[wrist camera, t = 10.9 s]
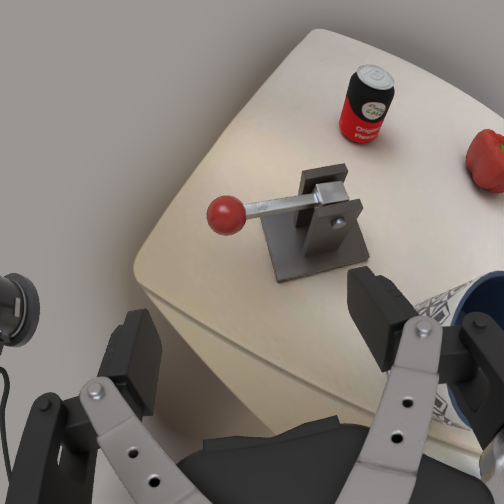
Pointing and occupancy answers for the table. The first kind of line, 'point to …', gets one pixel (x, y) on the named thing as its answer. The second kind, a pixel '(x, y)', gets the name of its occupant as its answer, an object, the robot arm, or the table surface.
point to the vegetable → (487, 160)
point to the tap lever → (269, 207)
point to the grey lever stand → (315, 232)
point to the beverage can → (366, 103)
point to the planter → (451, 314)
